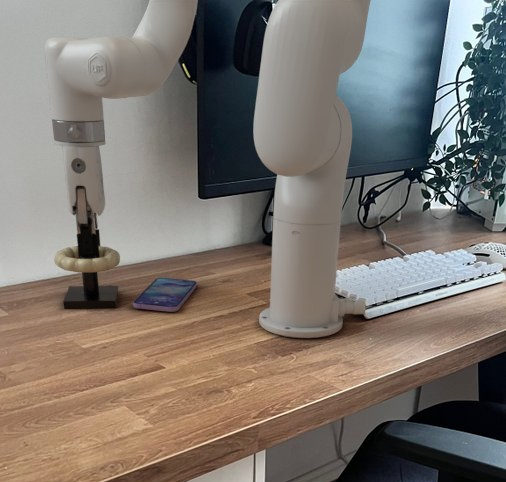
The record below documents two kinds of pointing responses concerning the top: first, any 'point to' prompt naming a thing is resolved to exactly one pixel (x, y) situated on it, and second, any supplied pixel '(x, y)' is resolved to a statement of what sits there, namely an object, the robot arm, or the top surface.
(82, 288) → the peg stand
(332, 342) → the top surface
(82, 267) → the segmented ring
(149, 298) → the smartphone
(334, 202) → the robot arm
